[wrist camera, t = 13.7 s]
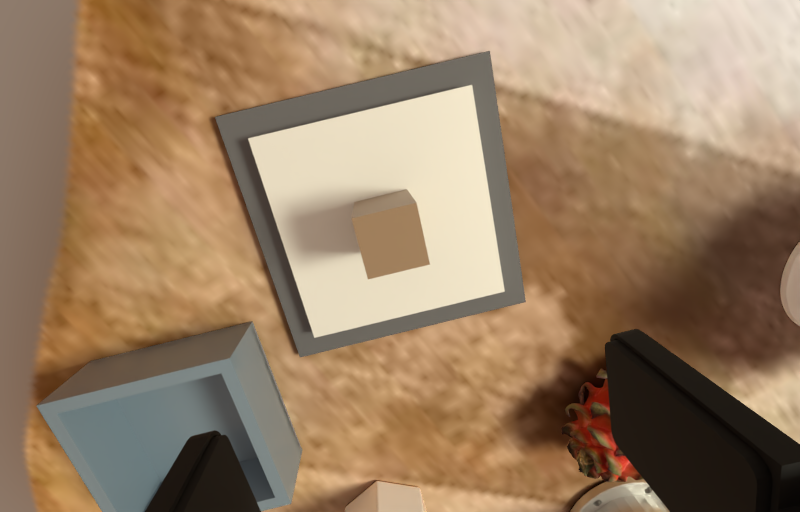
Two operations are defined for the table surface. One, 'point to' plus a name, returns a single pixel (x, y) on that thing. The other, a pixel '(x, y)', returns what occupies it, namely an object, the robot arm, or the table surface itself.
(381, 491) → the jar
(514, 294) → the mat
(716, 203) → the table surface
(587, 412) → the dragon fruit
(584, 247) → the table surface
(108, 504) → the open square box
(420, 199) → the lid
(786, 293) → the decorative vase
